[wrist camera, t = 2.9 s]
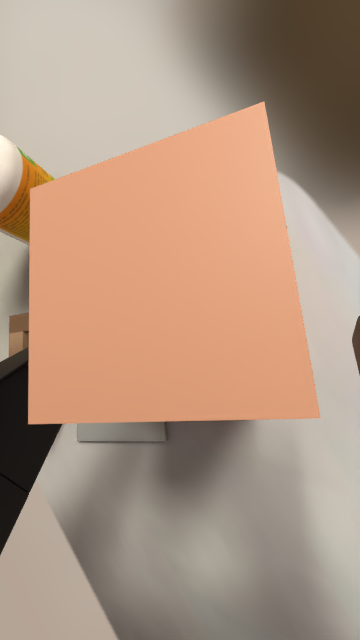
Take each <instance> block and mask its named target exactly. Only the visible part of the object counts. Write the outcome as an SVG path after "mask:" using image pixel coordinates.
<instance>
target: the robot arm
mask: <svg viewBox="0 0 360 640" xmlns="http://www.w3.org/2000/svg"><path fill="white" fill-rule="evenodd" d="M352 344H353V348H354V353H355V357H356V361H357V365H358V370H359V374H360V316H359V317H358V319H357V322H356V326H355V329H354V333H353V337H352ZM28 382H29V347H27V348H25V349H23V350H21V351H20V352H18V353H16V354H14V355H12V356H10V357H9V358H7V359H5V360H3V361H1V362H0V555H1V552H2V550H3V548H4V546H5V544H6V542H7V539H8V538H9V536H10V533H11V531H12V529H13V527H14V525H15V523H16V520H17V519H18V517H19V514H20V512H21V510H22V508H23V506H24V504H25V502H26V500H27V497H28V495H29V492H30V491H31V489H32V486H33V484H34V482H35V480H36V478H37V476H38V474H39V472H40V470H41V467H42V465H43V463H44V461H45V459H46V457H47V455H48V453H49V451H50V448H51V446H52V444H53V442H54V440H55V438H56V436H57V434H58V432H59V429H60V427H61V425H62V424H28Z"/></svg>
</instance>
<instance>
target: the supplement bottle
mask: <svg viewBox="0 0 360 640" xmlns="http://www.w3.org/2000/svg"><path fill="white" fill-rule="evenodd" d="M53 180H55V179H54V178H53V177H52V176H50V175H49V174H48V173H47V172H46V171H44V170H43V169H42V168H41V167H40V166H39V165H37V164H36V163H35V162H34V161H33V160H31V159H30V158H29V157H28V156H27V155H26V154H25V153H23V152H22V151H21V150H20V149H19V148H18V147H16V146H15V145H14V144H13V143H11V142H10V141H9V140H8V139H6V138H5V137H3V136H1V135H0V232H2V233H4V234H6V235H9V236H11V237H13V238H15V239H17V240H19V241H21V242H23V243H26V244H28V245H30V189H31V188H34V187H37V186H39V185H42V184H45V183H47V182H50V181H53Z"/></svg>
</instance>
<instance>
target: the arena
mask: <svg viewBox="0 0 360 640" xmlns="http://www.w3.org/2000/svg"><path fill="white" fill-rule="evenodd" d="M27 347H29V313H24V314H19V315H14V316H10V322H9V357H10V356H12V355H14V354H16V353H18V352H20V351H21V350H23V349H25V348H27ZM77 441H167V433H166V421H161V422H113V423H77Z"/></svg>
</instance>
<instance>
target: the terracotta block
mask: <svg viewBox="0 0 360 640" xmlns="http://www.w3.org/2000/svg"><path fill="white" fill-rule="evenodd" d="M304 418H320V412H319V407H318V401H317V395H316V390H315V384H314V379H313V373H312V367H311V362H310V356H309V350H308V345H307V339H306V334H305V328H304V322H303V317H302V311H301V306H300V300H299V294H298V289H297V283H296V277H295V272H294V266H293V261H292V255H291V249H290V244H289V238H288V232H287V227H286V221H285V216H284V210H283V204H282V199H281V193H280V188H279V182H278V176H277V171H276V165H275V160H274V155H273V148H272V143H271V137H270V131H269V126H268V120H267V114H266V109H265V103H264V102H262V103H259V104H256V105H254V106H251V107H248V108H246V109H243V110H240V111H238V112H235V113H232V114H230V115H227V116H224V117H221V118H219V119H216V120H213V121H211V122H208V123H205V124H203V125H200V126H197V127H195V128H192V129H189V130H187V131H184V132H181V133H179V134H176V135H173V136H171V137H168V138H165V139H163V140H160V141H157V142H155V143H152V144H149V145H146V146H144V147H141V148H139V149H136V150H133V151H131V152H128V153H125V154H123V155H120V156H117V157H114V158H112V159H109V160H107V161H104V162H101V163H98V164H96V165H93V166H90V167H88V168H85V169H82V170H80V171H77V172H74V173H71V174H69V175H66V176H63V177H61V178H58V179H55V180H53V181H50V182H47V183H45V184H42V185H39V186H37V187H34V188H31V189H30V260H29V382H28V424H66V423H113V422H161V421H209V420H256V419H304Z"/></svg>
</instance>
